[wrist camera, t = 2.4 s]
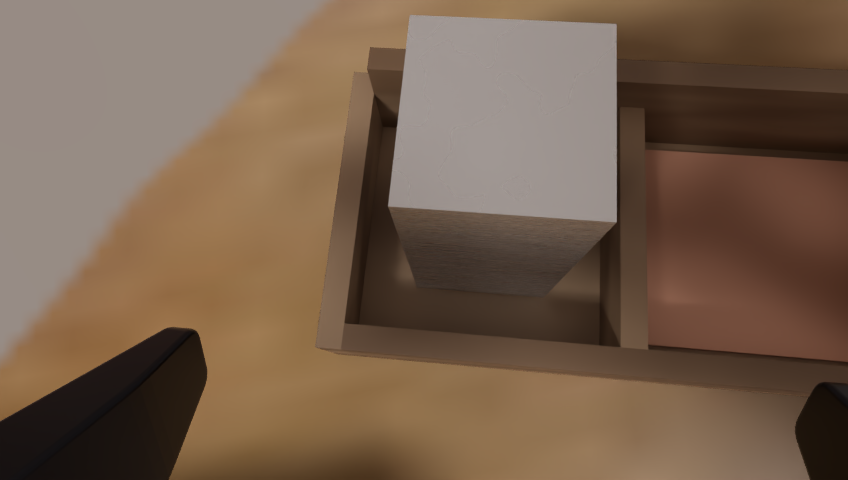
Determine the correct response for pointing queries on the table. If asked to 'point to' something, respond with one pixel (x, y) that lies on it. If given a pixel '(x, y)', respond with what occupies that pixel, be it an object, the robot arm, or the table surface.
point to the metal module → (504, 151)
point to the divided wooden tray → (634, 242)
